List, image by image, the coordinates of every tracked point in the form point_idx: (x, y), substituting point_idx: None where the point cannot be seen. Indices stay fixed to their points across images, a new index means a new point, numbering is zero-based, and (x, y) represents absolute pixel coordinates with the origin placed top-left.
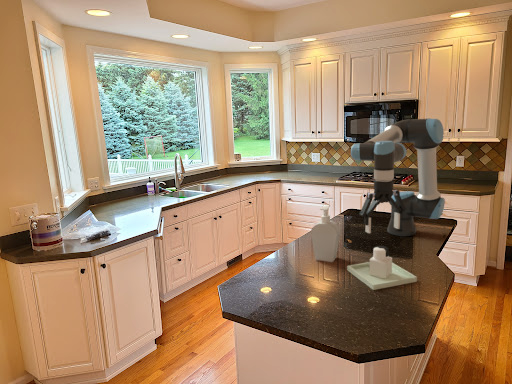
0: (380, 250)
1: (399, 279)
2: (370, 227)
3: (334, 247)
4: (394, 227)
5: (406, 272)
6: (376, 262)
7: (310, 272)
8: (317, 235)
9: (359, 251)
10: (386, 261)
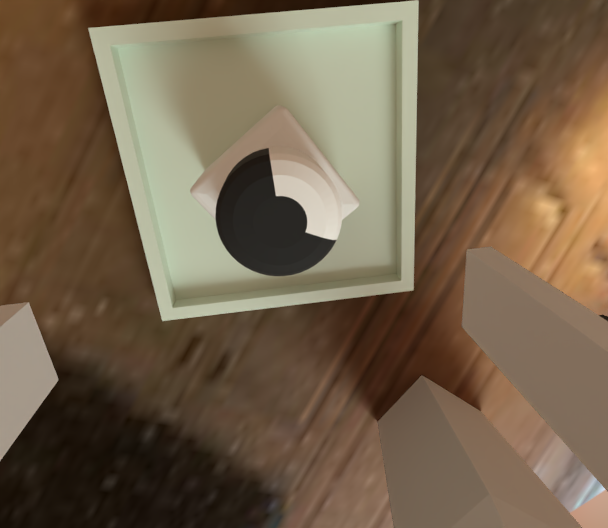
0: (313, 170)
1: (221, 27)
2: (519, 282)
3: (452, 426)
4: (53, 368)
5: (126, 116)
6: (328, 161)
7: (576, 296)
8: (564, 522)
9: (238, 457)
10: (268, 129)
